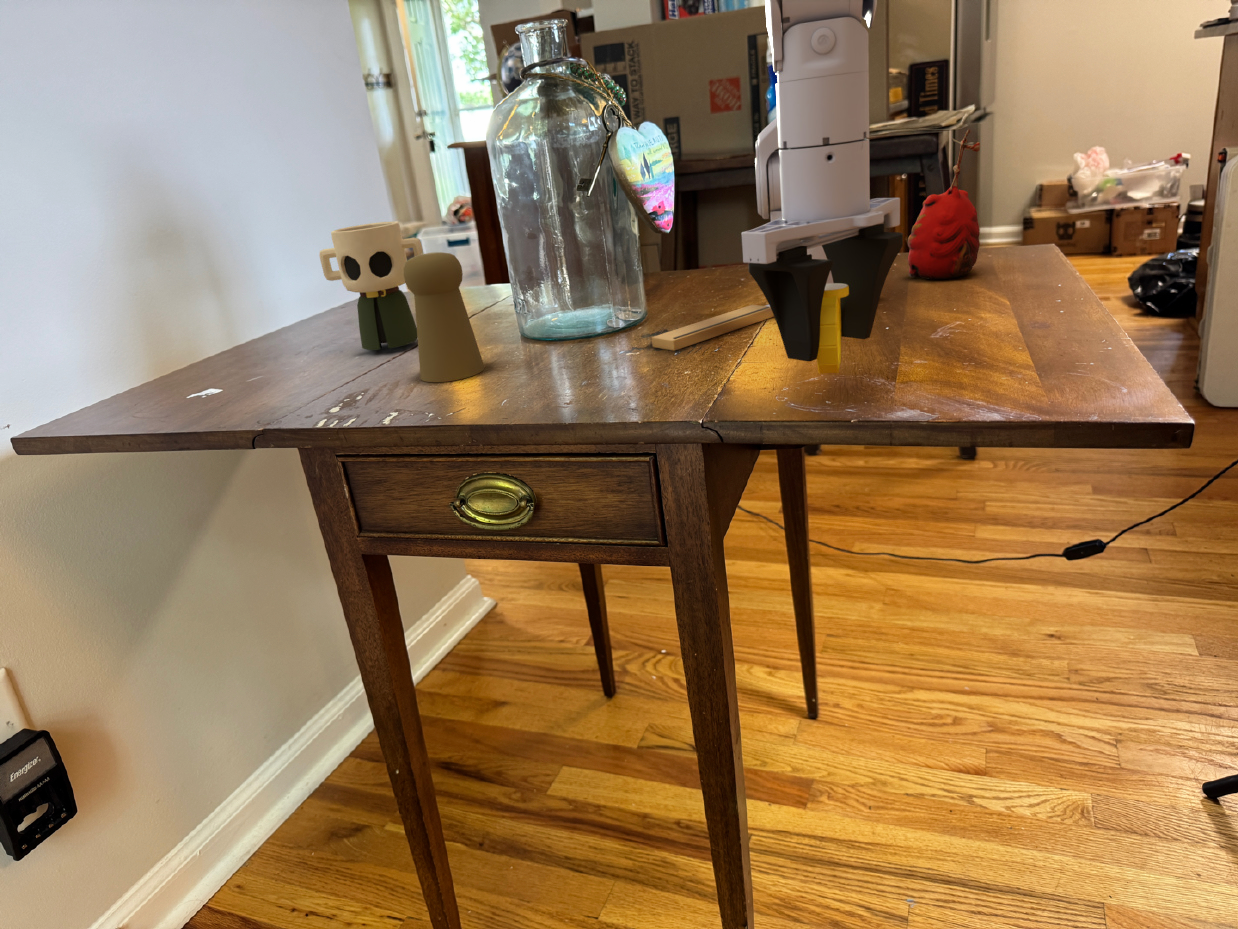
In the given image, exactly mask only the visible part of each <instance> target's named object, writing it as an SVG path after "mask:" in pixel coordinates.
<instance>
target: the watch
mask: <svg viewBox="0 0 1238 929" xmlns="http://www.w3.org/2000/svg"><path fill="white" fill-rule="evenodd" d="M848 295H849V286H848V285H847V284H842V283H829V284H826V286H825V290H824V295H823V300H822V307H821V316H820V342H819V350H818V355H817V359H816V363H817V364H816V365H817V372H818V374H819V375H821V374H840V367H841V363H842V337H841V305H840V298H843V297H846V296H848Z"/></svg>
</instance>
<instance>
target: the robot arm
mask: <svg viewBox="0 0 1238 929" xmlns="http://www.w3.org/2000/svg"><path fill="white" fill-rule="evenodd" d="M764 2H765V3H764V4H765V18H766V19H765V21H766V29H767V33H768V38H769V42H770V49H771V56H772V68H773V73H775V75H776V77H777V78H776V79H777V81H776V82H777V83H775V96H776V117H775V118H774V119H773V120H772V121H771V122H770V123H769V124H767V125H766V127H764V128H763V129H762V130H761V132H760V133H758V135H757V140H756V141H755V158H754V163H755V164H754V167H755V187H756V203H757V204H756V205H757V206H756V207H757V214H758V215H759V216H760V217H762V219H763V220H769V219H770V221H769V222H767V223H765V224H762V225H760V226H758V227H755V228H752V229H749V230H746V231H742V232H741V246H742V247H741V248H742V262H743V263H744V264H747V266H748V273H749V275H751V277H752V279H753V281H755V283H756V284H757V286H758V287H759V289H760V291H761V292H762V294H763V296H764V298H765V299H766V301H767V303H768V304H766V305H764V306H769V307H771V310H772V312H773V314H774V317H773V318H774V319H775V322H776V325H777V328H778V332H779V334H780V337H781V340H782V344H783V347H784V351H785V353H786V356H787V359H789V360H796V361H803V362H813V361H815V360H817V355H818V350H819V342H820V316H821V307H822V300H823V295H824V290H825V286H826V284H829V283H842V284H847V285H848V286H849V295H848V296H846V297H843V298H840V305H841V338H850V339H859V340H867V339H870V338H871V335H872V331H873V327H874V323H875V318H876V314H877V311H878V306H879V302H880V298H881V295H882V290H883V289H884V285H885V283H886V279H887V277H888V275H889V272H890V270H891V268H892V266H893V264H894V262H895V260H896V258H897V256H898V254H899V253H900V251H901V250H902V248H903V244H904V233H903V232H898V231H897V232H896V231H893V232H892V231H885V229H887V228H890V229H891V228H894V227H899V226H900V225H901V198H900V197H876V198H871V195H870V194H871V190H870V189H871V188H870V186H871V183H870V179H871V178H870V75H869V73H870V69H869V68H870V66H869V65H870V64H869V61H870V60H869V59H870V58H869V31H868V30H871V29H872V28H873V25H874V20H875V17H876V16H875V15H876V11H877V4H878V0H764ZM863 19H864V20H865V21H866V25H867V28H868V30H867V29H866V28H865V26H864V25H863V24H862V20H863Z"/></svg>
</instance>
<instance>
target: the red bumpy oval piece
mask: <svg viewBox="0 0 1238 929" xmlns="http://www.w3.org/2000/svg"><path fill="white" fill-rule="evenodd" d="M971 132H972V129H970V128H968V129H967V130H966V132H965V134H964V137H963V139H962V140H961V141H958V140H957V139H955V138H952V139H951V141H952V142H953V143H956V144H958V145H959V146H960V147H959V152H958V156H957V163H956V165H954V166H953V167H952V170H953V172H954V177H953V180H952V183H951V185H950V187H949V188H948V189H947V190H946V191H945V192H943V193H941V194H935V193H933V194H930V195H928V196H927V197H926V199H925V200H923V202H922V208H921V210H920V213H919V215H918V216H917V218H916V221H915V223H914V225H912V228H911V233H910V235H909V236H908V238H907V245H908V247H909V252H908V256H907V262H908V267H909V269H908V276H909V277H911V278H919V279H921V278H924V279H927V280H935V281H936V280H937V281H938V280H945V279H946V280H947V279H955V278H960V277H963V276H966V275H968V274H970V272H971V271H972V269H973V268H974V266H975V265H976V263H977V260H978V255H979V254H978V253H979V250H980V244H981V243H980V224H979V219H978V211H977V209H976V208H975V206H974V204H973V202H971V200H970V197H969V192H968V191H966V190H964V189H963V190H962V189H959V176H960V173H961V163H962V160H963V155H964V151H965V150H968V151H969V150H970V151H972V152H975V153H977V152H979V151H980V149H981V143H980V141H978V142H976V143H975V142H971V141H970V142H968V139H967V137H968V136H969V134H970V133H971Z"/></svg>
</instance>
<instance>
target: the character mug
mask: <svg viewBox="0 0 1238 929" xmlns="http://www.w3.org/2000/svg"><path fill="white" fill-rule="evenodd" d="M330 234H331V236H330V237H331V240H332V244H333V247H331V248H323V249H321V250H319V255H318V256H319V260H320V264H321V269H322V273H323V276H324V278H325V279H326V281H330V282H333V281H341V282H342V285H343V286H344V288H345V289H346V291H348V292H351V293H359V296H358V300H357V304H356V307H357V318H358V329H359V330H358V331H359V335H360V343H361V348H362V349H363V350H367V351H379V350H381V349H383V344H387V348H388V349H394V348H399V347H407V345H409V344H412V343H414V342H416V340H418V337H417V324H416V320H415V318H414V316H413V313H412V310H411V308H410V304H409V302H408V298H407V295H406V294H405V293H404V292H403V290H401V289H400V286H402V285H404V284H405V285H406V283H405V279H404V266H405V263H406V262H407V261H408V258H407V253H406V249H412V250H413V257H416V256H418V255H421V254H424V250H423V245H422V241H421V240H420V238H419V237H418V238H417V237H410V238H408V237H407V238H403V235H402V230H401V226H400V223H399V221H380V222H379V221H378V222H371V223H365V224H360V225H359V224H358V225H352V226H347V227H343V228H338V229H335V230H332V231H331V232H330ZM333 258H336V261H337V265H338V269H339V270H333V269H332V268H333V267H332V264H331V263H332V262H331V259H333Z"/></svg>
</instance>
